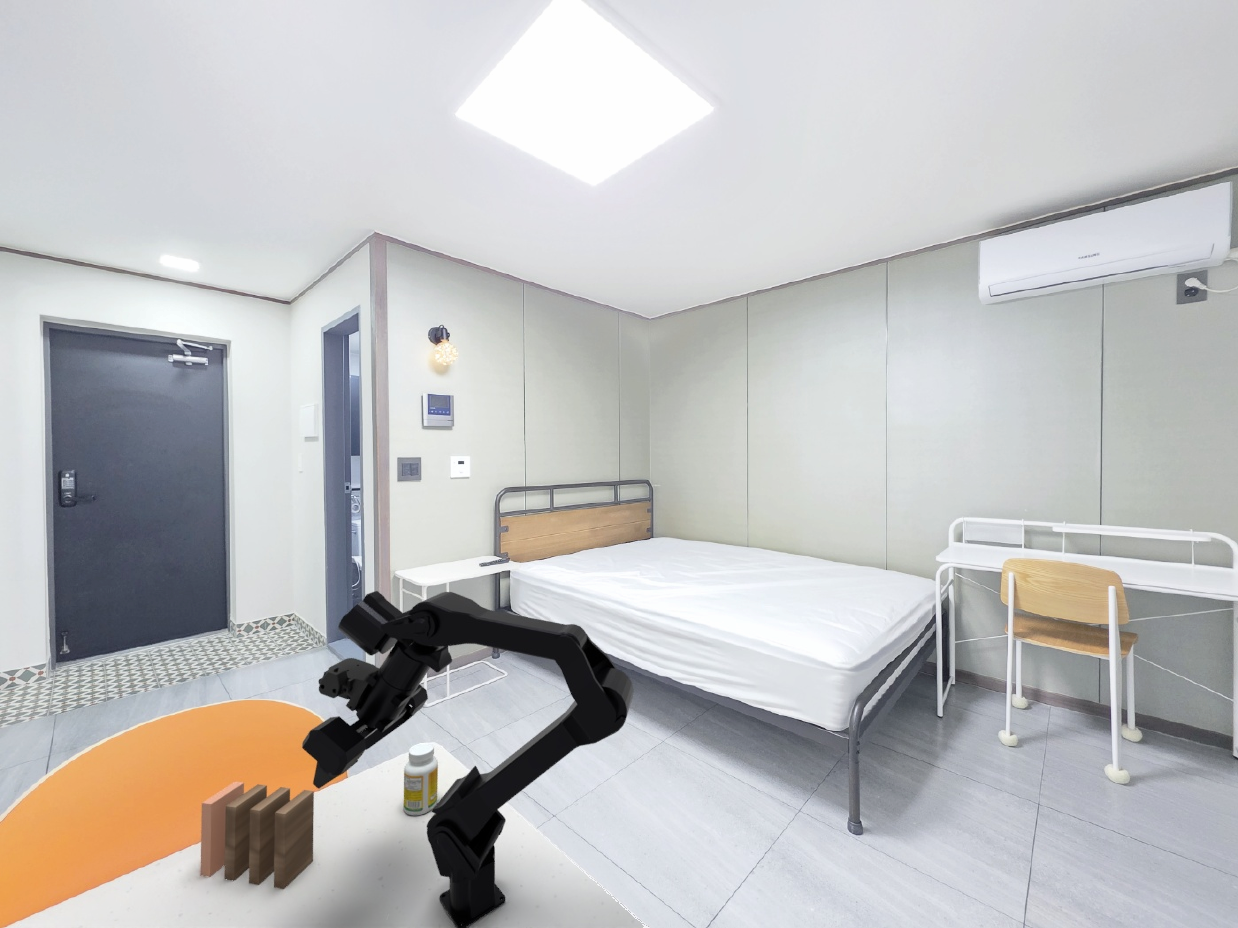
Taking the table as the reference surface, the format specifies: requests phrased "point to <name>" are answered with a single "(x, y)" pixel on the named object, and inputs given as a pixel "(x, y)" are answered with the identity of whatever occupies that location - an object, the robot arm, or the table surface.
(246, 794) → the domino
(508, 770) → the robot arm
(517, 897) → the table surface
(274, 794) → the domino
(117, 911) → the table surface
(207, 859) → the domino
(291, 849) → the domino
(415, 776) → the supplement bottle
